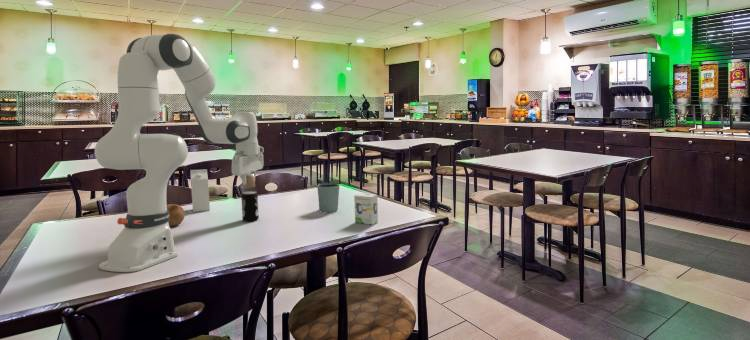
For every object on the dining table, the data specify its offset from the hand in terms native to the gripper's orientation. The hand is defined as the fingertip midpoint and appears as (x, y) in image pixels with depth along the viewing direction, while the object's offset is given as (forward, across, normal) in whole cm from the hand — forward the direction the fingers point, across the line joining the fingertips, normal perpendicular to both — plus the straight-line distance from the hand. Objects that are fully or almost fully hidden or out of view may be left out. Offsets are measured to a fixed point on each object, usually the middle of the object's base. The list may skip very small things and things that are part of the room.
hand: (248, 182), depth 178 cm
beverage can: (+16, 0, 0) cm, 16 cm away
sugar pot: (+2, 0, 0) cm, 2 cm away
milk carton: (+16, +12, +32) cm, 38 cm away
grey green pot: (+16, +23, -27) cm, 39 cm away
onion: (+16, -14, +27) cm, 34 cm away
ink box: (+16, +6, -49) cm, 52 cm away
